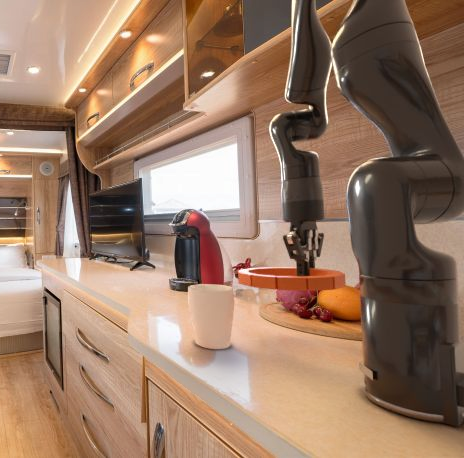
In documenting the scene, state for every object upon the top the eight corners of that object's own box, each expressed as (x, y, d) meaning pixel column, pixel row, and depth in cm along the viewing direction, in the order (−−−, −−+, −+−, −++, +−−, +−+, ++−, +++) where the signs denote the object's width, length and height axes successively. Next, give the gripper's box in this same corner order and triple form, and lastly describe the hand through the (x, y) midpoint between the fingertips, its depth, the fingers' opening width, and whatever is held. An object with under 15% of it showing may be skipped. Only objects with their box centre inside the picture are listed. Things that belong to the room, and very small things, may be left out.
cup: (226, 336, 74) (223, 283, 74) (244, 351, 65) (241, 290, 65) (184, 337, 75) (182, 284, 75) (196, 352, 66) (194, 291, 66)
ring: (360, 282, 66) (359, 270, 66) (317, 294, 57) (316, 280, 57) (266, 275, 81) (266, 265, 81) (221, 283, 72) (220, 272, 72)
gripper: (305, 197, 67) (310, 283, 66) (336, 198, 74) (341, 276, 73) (267, 201, 73) (271, 279, 73) (298, 202, 80) (302, 273, 80)
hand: (306, 277), depth 73 cm, fingers closed on ring, 2 cm apart
